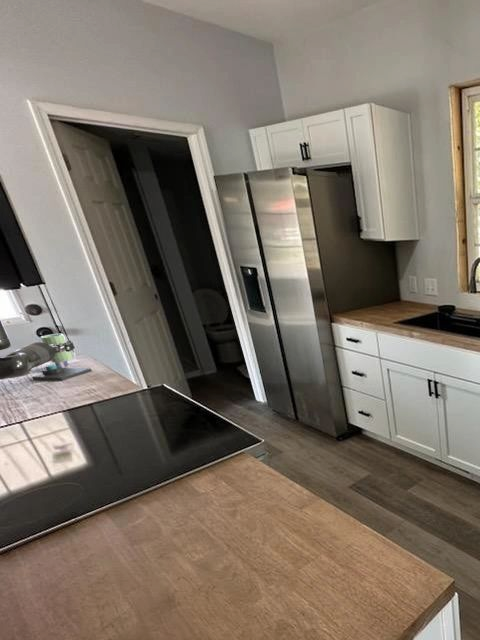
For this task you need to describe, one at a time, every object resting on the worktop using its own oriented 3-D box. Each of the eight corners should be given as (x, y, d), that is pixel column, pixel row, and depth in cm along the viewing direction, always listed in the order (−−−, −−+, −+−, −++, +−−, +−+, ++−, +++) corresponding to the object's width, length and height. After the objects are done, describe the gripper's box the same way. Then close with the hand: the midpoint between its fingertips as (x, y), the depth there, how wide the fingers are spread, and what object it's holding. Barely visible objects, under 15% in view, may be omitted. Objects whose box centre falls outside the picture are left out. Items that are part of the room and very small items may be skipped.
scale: (32, 380, 161) (29, 373, 160) (63, 370, 171) (60, 364, 170) (62, 380, 160) (59, 373, 158) (92, 371, 170) (89, 364, 169)
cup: (48, 363, 159) (37, 338, 155) (56, 359, 164) (46, 334, 160) (68, 361, 161) (58, 336, 158) (76, 357, 166) (66, 333, 163)
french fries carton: (65, 369, 173) (54, 344, 169) (55, 370, 172) (44, 345, 168) (69, 363, 180) (59, 340, 176) (60, 365, 178) (49, 341, 175)
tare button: (45, 370, 164) (43, 366, 163) (53, 368, 166) (51, 364, 166) (51, 370, 163) (49, 366, 163) (59, 368, 166) (57, 364, 165)
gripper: (56, 342, 150) (79, 332, 164) (2, 347, 144) (30, 337, 159) (65, 362, 152) (86, 350, 167) (12, 367, 147) (39, 355, 161)
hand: (59, 344), depth 162 cm, fingers closed on cup, 6 cm apart
